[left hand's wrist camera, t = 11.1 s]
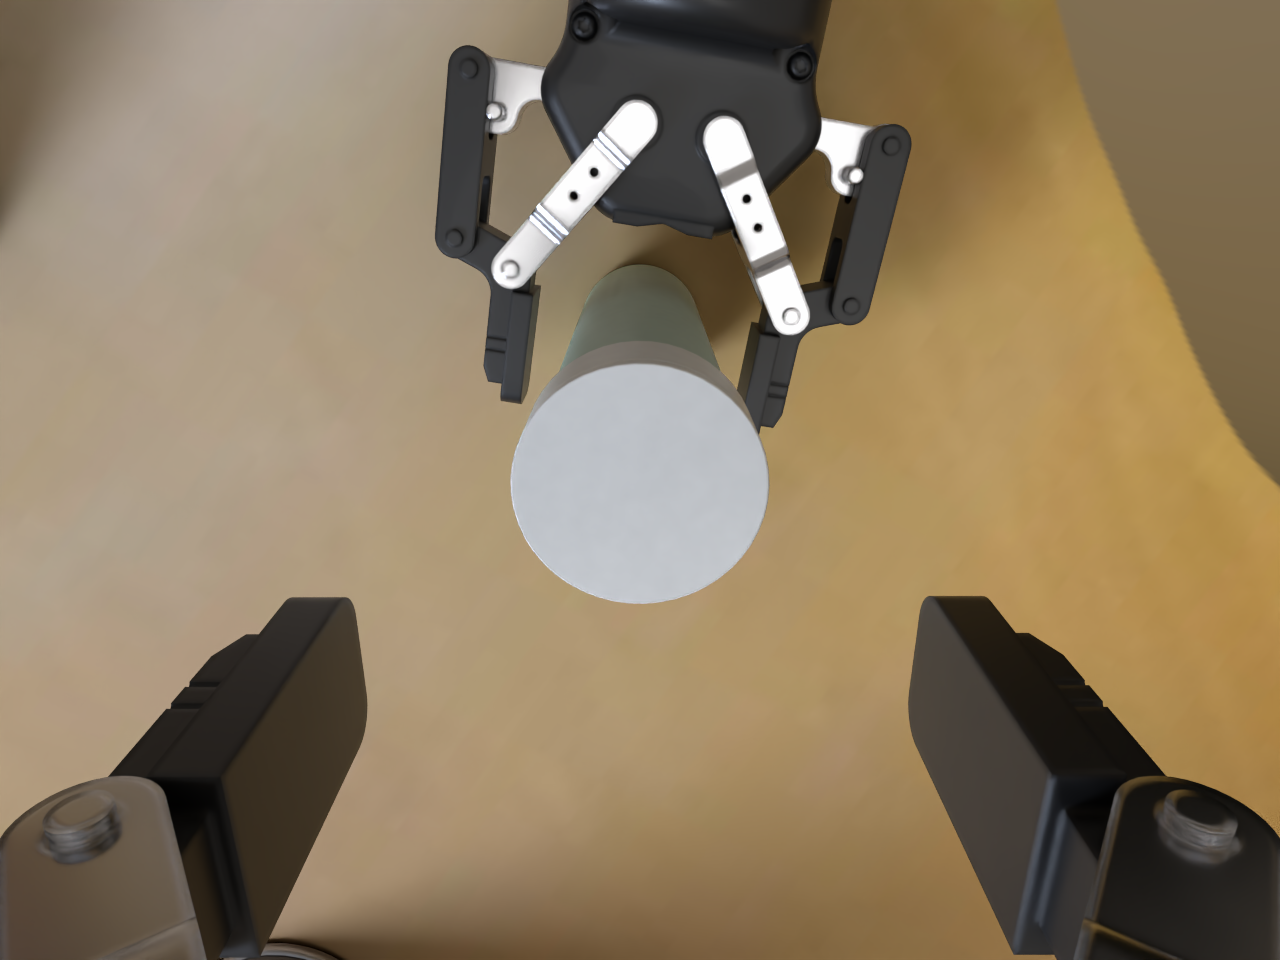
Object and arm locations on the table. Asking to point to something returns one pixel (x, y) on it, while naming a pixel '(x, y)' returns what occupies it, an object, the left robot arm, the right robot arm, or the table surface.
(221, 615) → the table surface
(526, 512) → the lid
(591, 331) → the jar
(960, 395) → the table surface
